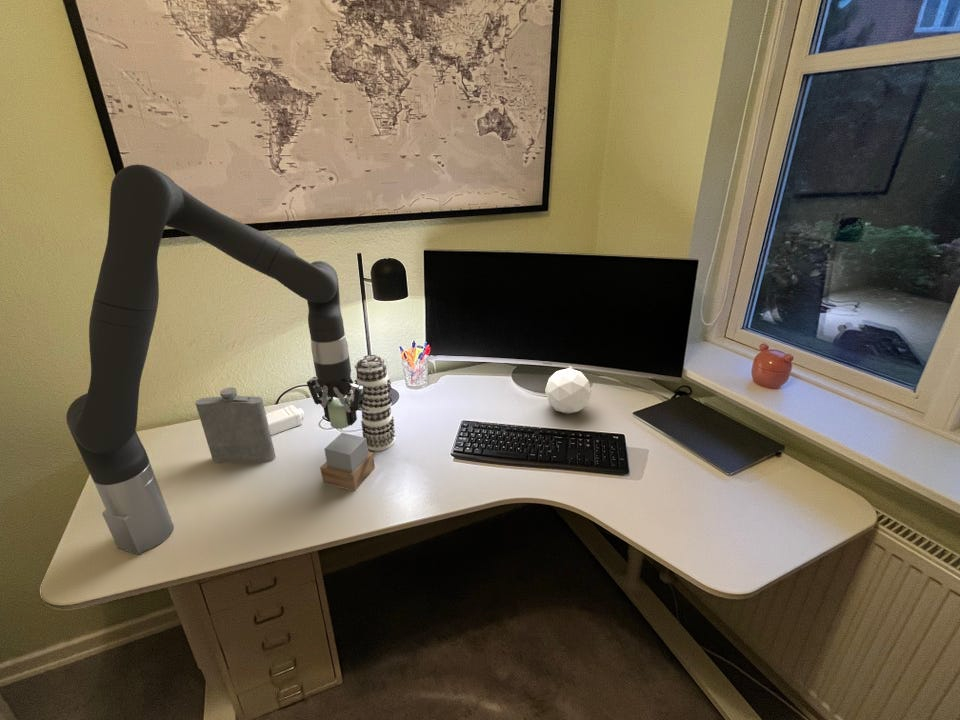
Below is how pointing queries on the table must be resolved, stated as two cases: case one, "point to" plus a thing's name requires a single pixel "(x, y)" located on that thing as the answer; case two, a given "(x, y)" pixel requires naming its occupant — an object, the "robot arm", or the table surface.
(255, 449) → the hip flask
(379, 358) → the decorative candle
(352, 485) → the base block
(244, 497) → the table surface
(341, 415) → the rounded mint cylinder
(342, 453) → the gray block
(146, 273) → the robot arm
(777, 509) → the table surface
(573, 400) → the geodesic sphere
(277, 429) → the white bottle
